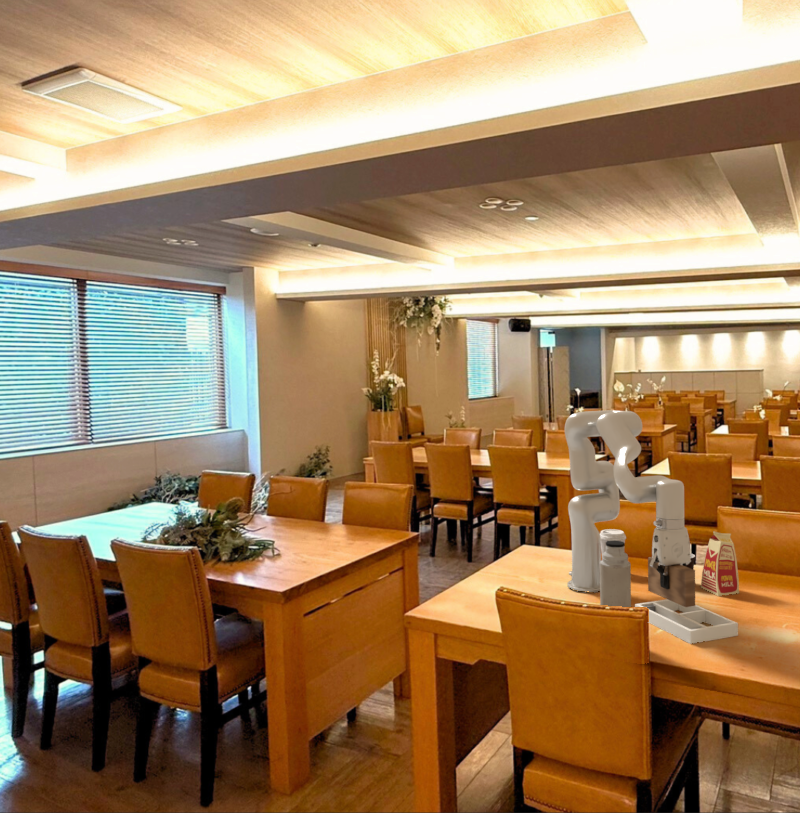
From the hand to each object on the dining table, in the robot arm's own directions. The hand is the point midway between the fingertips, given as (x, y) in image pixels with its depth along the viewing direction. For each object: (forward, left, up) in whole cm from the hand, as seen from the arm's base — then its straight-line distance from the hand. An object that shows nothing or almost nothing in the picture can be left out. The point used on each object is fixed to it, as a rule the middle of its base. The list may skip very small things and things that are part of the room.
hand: (670, 586), depth 209 cm
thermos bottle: (+4, -21, -12) cm, 25 cm away
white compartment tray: (0, +5, -12) cm, 13 cm away
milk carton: (-21, +37, -12) cm, 44 cm away
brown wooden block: (0, 0, -3) cm, 3 cm away
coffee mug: (-33, +31, -12) cm, 47 cm away
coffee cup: (-52, +17, -12) cm, 56 cm away
